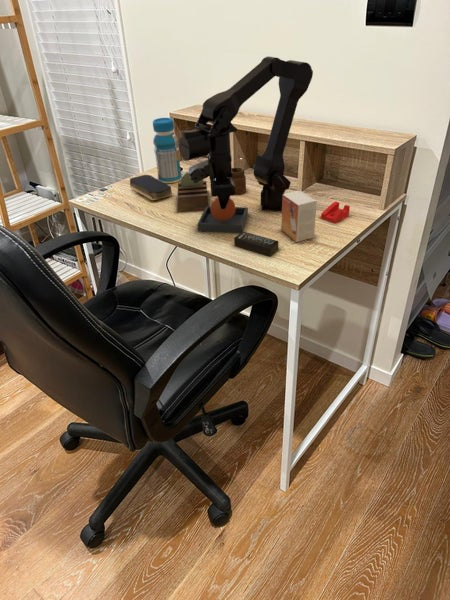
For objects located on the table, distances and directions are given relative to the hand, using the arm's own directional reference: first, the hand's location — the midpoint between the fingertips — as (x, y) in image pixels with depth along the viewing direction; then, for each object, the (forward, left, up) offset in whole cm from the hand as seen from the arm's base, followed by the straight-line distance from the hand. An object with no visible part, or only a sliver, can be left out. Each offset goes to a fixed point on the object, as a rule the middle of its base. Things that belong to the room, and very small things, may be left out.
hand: (223, 207), depth 126 cm
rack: (+12, -13, -5) cm, 18 cm away
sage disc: (+13, -16, +1) cm, 21 cm away
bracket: (-31, -6, -5) cm, 32 cm away
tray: (0, 0, -5) cm, 5 cm away
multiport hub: (-11, +13, -5) cm, 18 cm away
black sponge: (+28, -20, -5) cm, 35 cm away
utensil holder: (0, -23, -5) cm, 23 cm away
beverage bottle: (+25, -32, -5) cm, 41 cm away
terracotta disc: (0, 0, 0) cm, 0 cm away
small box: (-21, +5, -5) cm, 22 cm away
